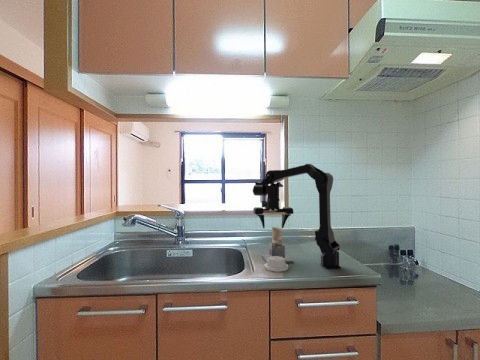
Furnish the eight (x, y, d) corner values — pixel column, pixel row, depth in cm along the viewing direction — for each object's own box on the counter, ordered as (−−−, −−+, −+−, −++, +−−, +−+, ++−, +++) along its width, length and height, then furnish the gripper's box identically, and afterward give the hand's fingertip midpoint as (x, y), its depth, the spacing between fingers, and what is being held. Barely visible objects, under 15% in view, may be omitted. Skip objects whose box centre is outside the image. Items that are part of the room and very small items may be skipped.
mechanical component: (264, 264, 120) (263, 271, 110) (264, 254, 120) (263, 260, 110) (287, 265, 118) (288, 272, 108) (287, 255, 118) (288, 261, 108)
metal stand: (286, 255, 133) (285, 241, 133) (293, 262, 121) (293, 246, 121) (261, 256, 132) (261, 242, 132) (266, 263, 120) (266, 247, 120)
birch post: (279, 248, 129) (279, 227, 129) (281, 250, 125) (281, 228, 125) (271, 248, 128) (271, 227, 128) (273, 250, 124) (273, 228, 125)
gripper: (287, 195, 142) (287, 225, 142) (251, 195, 140) (251, 226, 140) (293, 196, 131) (293, 229, 131) (255, 196, 128) (255, 229, 128)
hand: (273, 228), depth 133 cm, fingers open, 9 cm apart
